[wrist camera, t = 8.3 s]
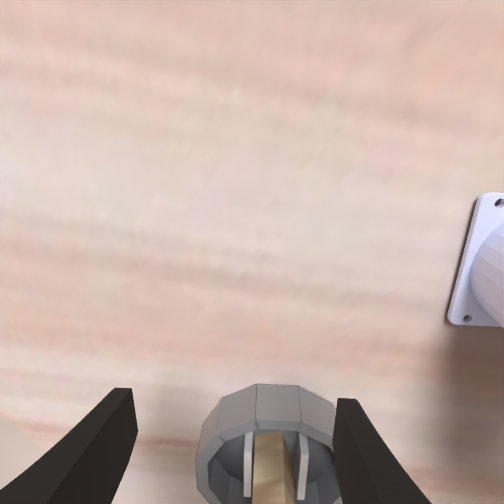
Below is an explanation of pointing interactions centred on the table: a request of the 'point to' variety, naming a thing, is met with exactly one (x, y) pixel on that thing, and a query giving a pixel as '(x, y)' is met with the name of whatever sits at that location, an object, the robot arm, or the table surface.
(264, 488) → the wooden jenga block
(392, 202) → the table surface
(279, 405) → the grey round bowl
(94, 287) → the table surface
